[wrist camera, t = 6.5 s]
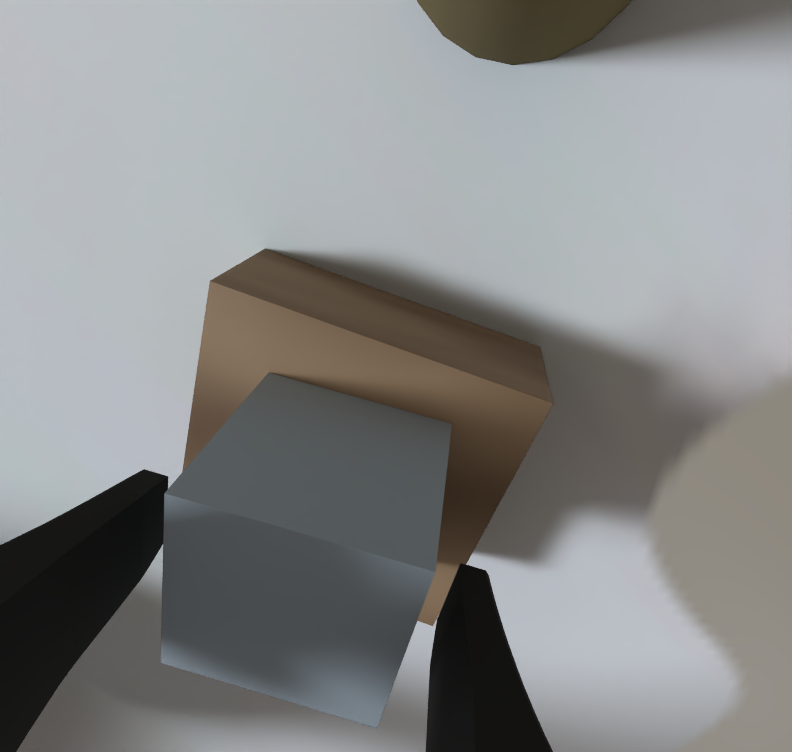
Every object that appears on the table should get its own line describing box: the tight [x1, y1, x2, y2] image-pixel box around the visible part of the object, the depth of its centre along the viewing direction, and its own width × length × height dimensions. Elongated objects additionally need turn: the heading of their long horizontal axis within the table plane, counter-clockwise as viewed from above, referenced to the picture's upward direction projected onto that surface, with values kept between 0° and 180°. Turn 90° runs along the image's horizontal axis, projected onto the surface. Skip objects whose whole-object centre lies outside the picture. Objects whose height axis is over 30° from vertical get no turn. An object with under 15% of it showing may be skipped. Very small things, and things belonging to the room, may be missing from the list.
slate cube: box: [161, 372, 452, 728], centre depth 13 cm, size 5×5×5 cm
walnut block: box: [183, 249, 553, 626], centre depth 17 cm, size 9×9×4 cm
